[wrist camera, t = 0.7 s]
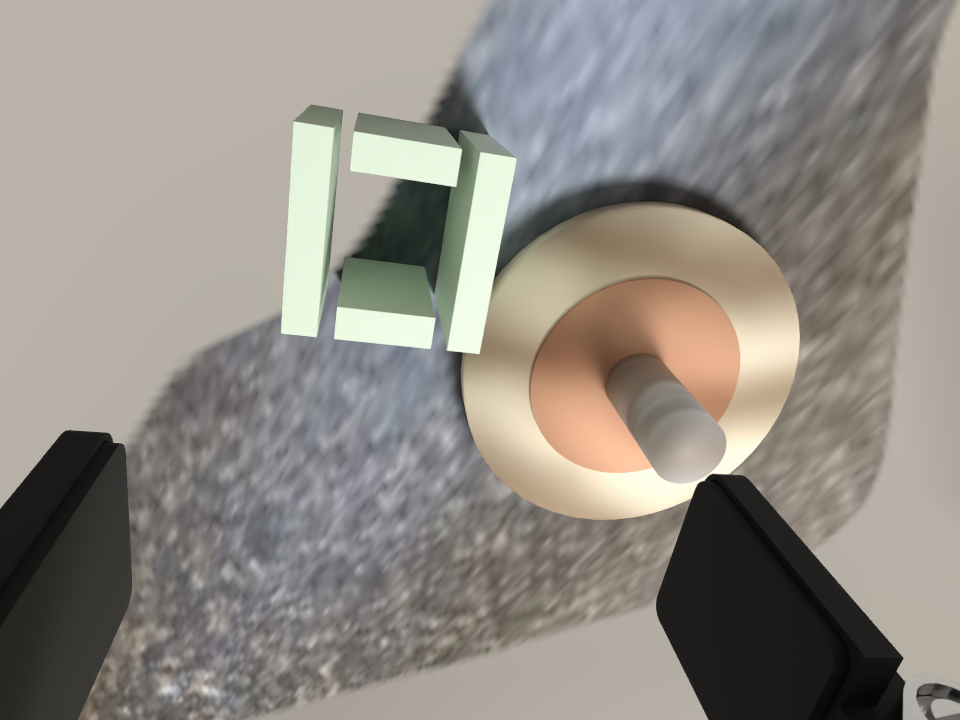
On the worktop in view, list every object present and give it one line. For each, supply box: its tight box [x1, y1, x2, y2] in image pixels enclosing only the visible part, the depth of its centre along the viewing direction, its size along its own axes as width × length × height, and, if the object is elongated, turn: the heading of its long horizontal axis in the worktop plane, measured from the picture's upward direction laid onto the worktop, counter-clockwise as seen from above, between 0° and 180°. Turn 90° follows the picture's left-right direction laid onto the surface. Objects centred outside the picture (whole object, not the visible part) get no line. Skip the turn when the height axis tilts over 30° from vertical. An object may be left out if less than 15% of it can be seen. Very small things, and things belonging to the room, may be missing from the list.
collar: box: [281, 105, 517, 354], centre depth 25 cm, size 7×7×6 cm
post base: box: [461, 201, 800, 519], centre depth 29 cm, size 16×16×8 cm
